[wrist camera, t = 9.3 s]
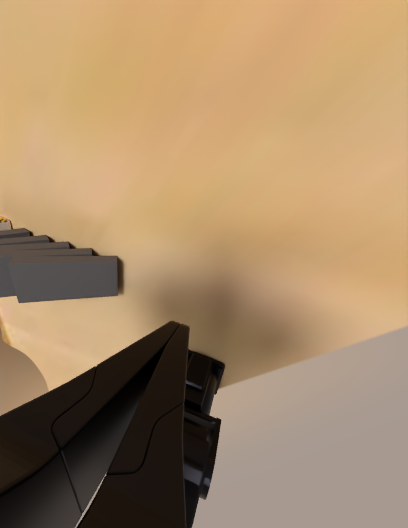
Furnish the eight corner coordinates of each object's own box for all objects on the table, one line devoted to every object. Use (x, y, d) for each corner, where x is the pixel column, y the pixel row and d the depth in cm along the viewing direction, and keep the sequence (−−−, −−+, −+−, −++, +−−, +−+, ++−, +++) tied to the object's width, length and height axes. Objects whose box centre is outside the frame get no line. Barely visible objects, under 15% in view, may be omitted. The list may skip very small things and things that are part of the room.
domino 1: (54, 271, 28) (-58, 292, 22) (52, 266, 29) (-56, 285, 23) (48, 239, 26) (-78, 251, 19) (46, 235, 27) (-76, 245, 20)
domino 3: (94, 287, 27) (-9, 298, 22) (94, 280, 28) (-5, 289, 23) (91, 253, 24) (-24, 258, 20) (91, 248, 26) (-18, 251, 21)
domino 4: (117, 295, 26) (18, 303, 22) (117, 288, 27) (24, 294, 23) (117, 262, 24) (7, 263, 20) (116, 256, 25) (13, 256, 21)
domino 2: (73, 279, 28) (-35, 295, 22) (72, 273, 29) (-31, 287, 23) (69, 246, 25) (-53, 254, 20) (68, 241, 26) (-48, 247, 21)
